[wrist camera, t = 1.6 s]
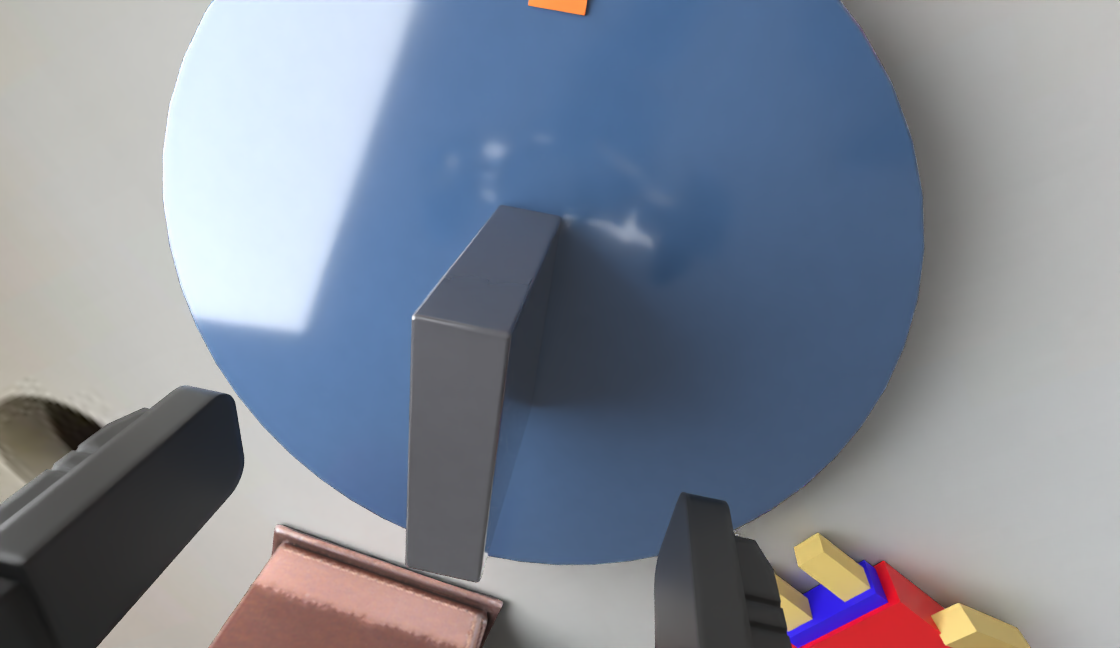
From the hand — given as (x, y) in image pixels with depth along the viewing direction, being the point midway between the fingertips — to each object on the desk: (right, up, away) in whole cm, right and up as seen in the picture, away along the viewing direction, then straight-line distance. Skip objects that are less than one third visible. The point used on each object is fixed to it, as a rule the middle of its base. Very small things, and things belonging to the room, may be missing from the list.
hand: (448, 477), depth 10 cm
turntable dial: (+1, +3, +6) cm, 7 cm away
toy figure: (+15, -9, +13) cm, 22 cm away
